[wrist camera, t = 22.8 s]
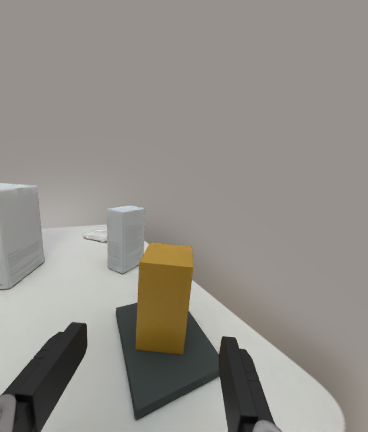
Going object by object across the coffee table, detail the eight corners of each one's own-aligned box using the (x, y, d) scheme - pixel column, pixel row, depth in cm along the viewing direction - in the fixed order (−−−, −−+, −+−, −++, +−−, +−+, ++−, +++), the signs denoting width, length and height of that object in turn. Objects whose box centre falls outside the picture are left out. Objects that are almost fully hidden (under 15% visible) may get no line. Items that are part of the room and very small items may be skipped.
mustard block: (183, 354, 19) (193, 267, 17) (135, 350, 19) (139, 261, 17) (184, 318, 24) (192, 246, 22) (146, 314, 24) (150, 242, 22)
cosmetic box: (128, 257, 41) (130, 204, 38) (143, 262, 39) (146, 208, 37) (106, 268, 36) (106, 208, 33) (122, 275, 34) (123, 212, 31)
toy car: (105, 244, 47) (105, 235, 46) (81, 238, 49) (81, 230, 49) (117, 238, 51) (117, 231, 51) (94, 233, 54) (94, 226, 53)
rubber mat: (225, 373, 18) (226, 365, 18) (135, 420, 14) (136, 411, 14) (176, 299, 29) (176, 293, 29) (116, 314, 25) (115, 307, 24)
